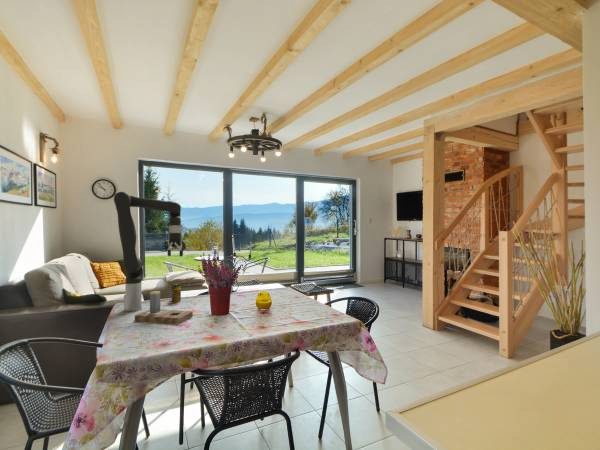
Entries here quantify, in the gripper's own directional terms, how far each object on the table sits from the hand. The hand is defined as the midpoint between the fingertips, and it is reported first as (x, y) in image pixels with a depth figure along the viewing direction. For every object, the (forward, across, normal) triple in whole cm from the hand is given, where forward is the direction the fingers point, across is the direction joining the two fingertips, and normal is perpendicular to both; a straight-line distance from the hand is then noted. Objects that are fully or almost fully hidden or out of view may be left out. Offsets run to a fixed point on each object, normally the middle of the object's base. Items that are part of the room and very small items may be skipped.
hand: (175, 256), depth 215 cm
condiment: (+33, -6, +9) cm, 35 cm away
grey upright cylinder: (+30, +5, -28) cm, 41 cm away
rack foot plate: (+33, +11, -28) cm, 45 cm away
